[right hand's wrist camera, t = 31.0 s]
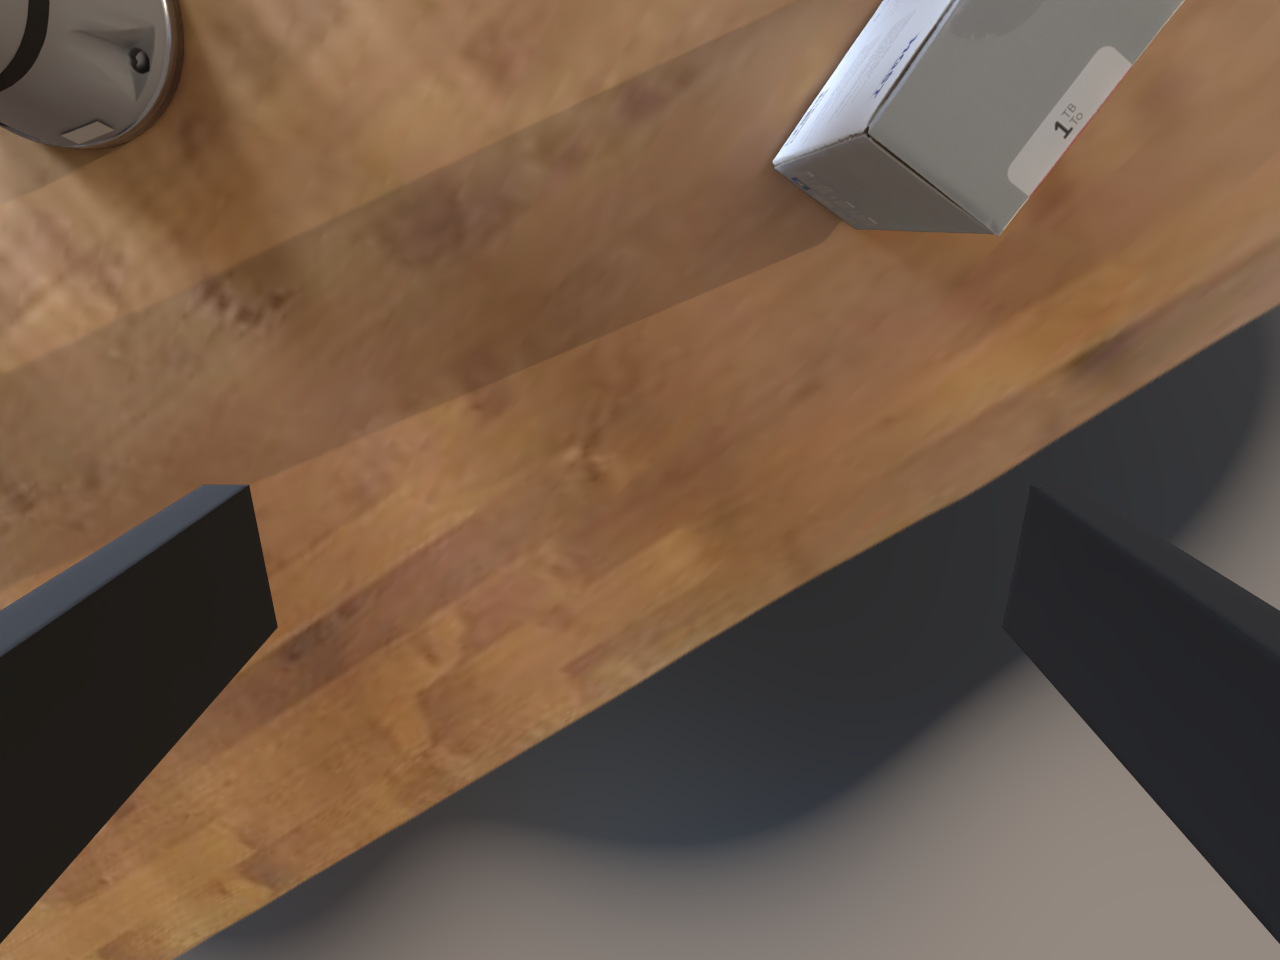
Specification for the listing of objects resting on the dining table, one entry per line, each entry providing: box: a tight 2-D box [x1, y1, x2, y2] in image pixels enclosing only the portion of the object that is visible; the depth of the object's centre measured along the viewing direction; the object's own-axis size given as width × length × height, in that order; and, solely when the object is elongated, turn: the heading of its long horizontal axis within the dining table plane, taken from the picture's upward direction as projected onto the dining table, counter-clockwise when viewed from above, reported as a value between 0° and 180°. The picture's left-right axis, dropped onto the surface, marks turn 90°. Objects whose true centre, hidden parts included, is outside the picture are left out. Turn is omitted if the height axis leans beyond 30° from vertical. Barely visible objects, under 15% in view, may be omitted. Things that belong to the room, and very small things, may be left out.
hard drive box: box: [773, 0, 1185, 236], centre depth 37 cm, size 16×8×20 cm, turn 146°
